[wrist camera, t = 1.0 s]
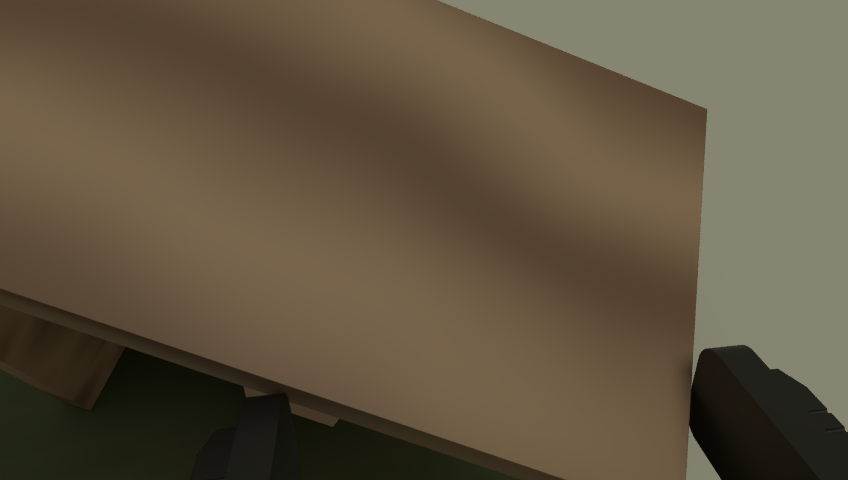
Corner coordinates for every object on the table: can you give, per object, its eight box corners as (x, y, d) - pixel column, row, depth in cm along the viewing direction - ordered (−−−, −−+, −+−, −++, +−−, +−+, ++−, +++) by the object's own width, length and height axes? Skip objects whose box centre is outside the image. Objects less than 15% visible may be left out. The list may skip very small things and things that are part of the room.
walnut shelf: (411, 515, 31) (683, 519, 10) (61, 401, 30) (-429, 143, 9) (456, 342, 36) (706, 109, 15) (156, 236, 34) (-23, -185, 14)
